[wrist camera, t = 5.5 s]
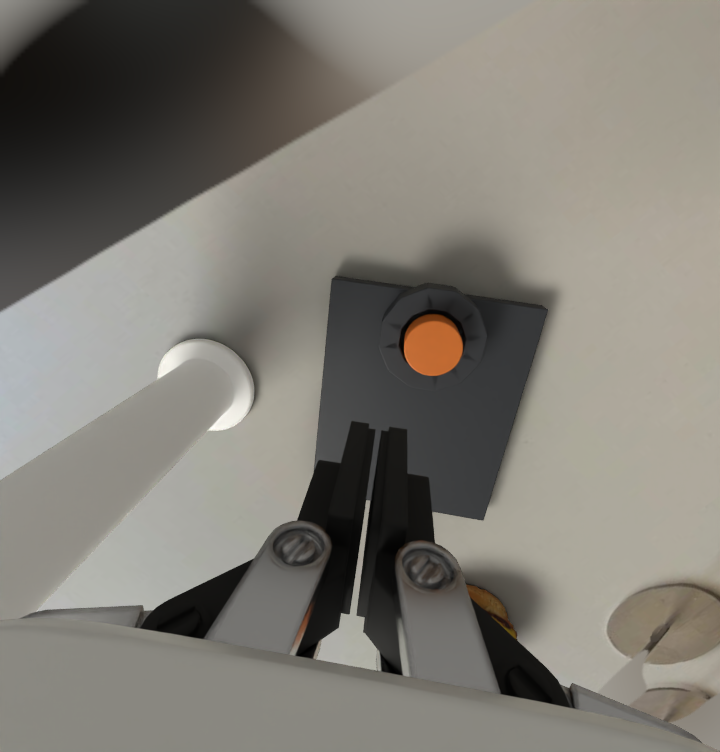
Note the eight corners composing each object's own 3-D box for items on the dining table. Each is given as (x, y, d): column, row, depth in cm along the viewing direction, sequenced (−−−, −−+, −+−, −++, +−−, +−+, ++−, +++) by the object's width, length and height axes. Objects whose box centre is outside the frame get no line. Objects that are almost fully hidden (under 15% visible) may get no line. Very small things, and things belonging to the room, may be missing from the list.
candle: (259, 429, 30) (-231, 1118, 7) (171, 423, 31) (-531, 1029, 8) (250, 340, 28) (-568, 971, 4) (154, 335, 28) (-975, 858, 5)
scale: (336, 266, 25) (326, 272, 22) (545, 296, 24) (562, 306, 21) (315, 480, 31) (306, 506, 29) (480, 510, 31) (487, 539, 28)
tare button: (409, 309, 23) (409, 316, 21) (465, 317, 23) (469, 325, 21) (400, 361, 24) (399, 371, 22) (453, 369, 24) (456, 380, 22)
